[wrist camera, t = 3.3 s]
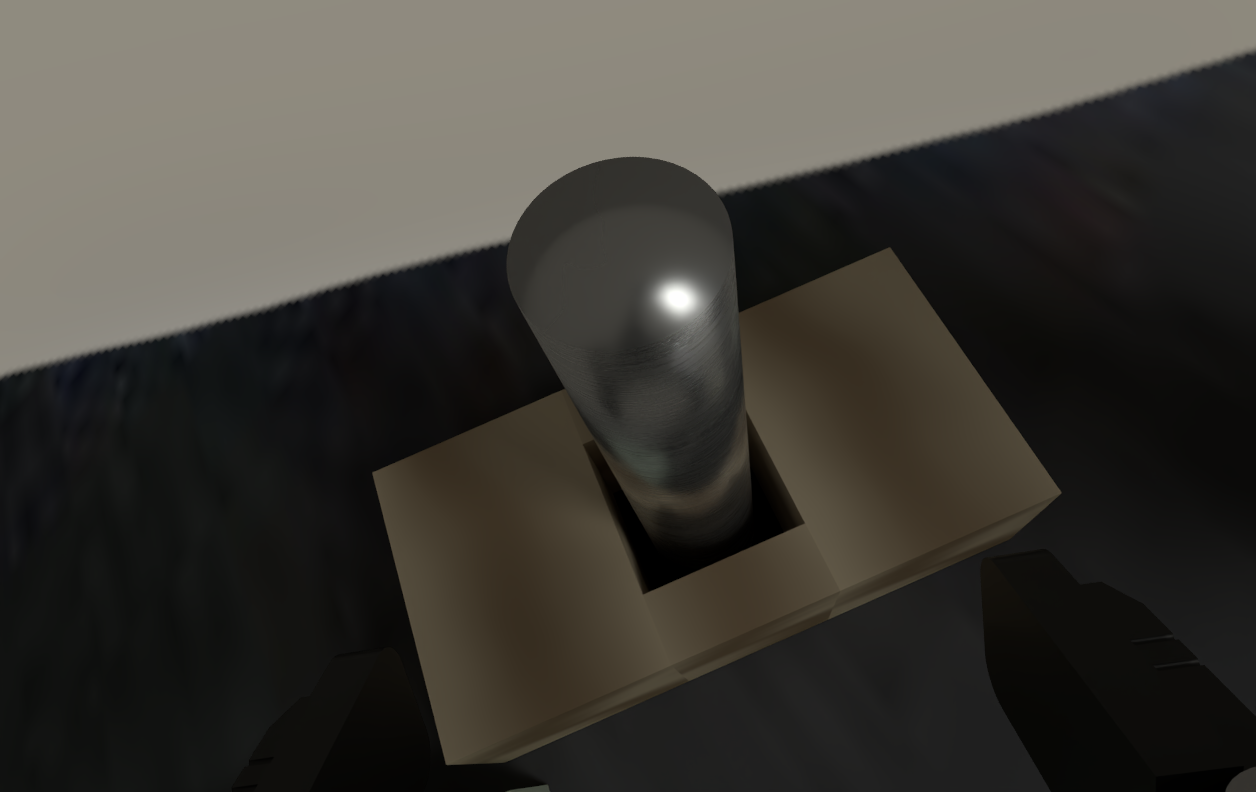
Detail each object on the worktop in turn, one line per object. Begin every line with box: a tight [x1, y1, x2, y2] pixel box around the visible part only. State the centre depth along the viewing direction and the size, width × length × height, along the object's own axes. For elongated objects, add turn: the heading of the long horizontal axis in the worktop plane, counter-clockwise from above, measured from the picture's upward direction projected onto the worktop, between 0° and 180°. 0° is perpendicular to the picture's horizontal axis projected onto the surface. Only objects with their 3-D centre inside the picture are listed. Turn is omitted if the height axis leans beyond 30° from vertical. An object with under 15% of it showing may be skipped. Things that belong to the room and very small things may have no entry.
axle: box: [507, 157, 754, 576], centre depth 18 cm, size 3×3×15 cm
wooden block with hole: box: [372, 247, 1061, 765], centre depth 22 cm, size 16×8×4 cm, turn 112°
